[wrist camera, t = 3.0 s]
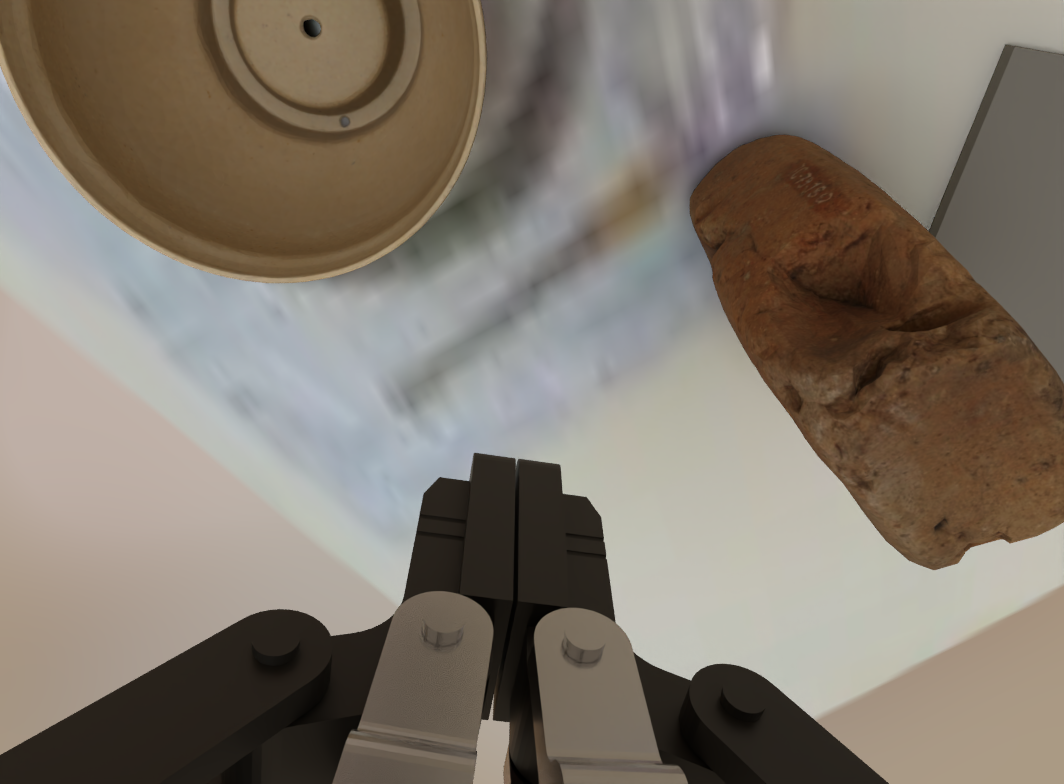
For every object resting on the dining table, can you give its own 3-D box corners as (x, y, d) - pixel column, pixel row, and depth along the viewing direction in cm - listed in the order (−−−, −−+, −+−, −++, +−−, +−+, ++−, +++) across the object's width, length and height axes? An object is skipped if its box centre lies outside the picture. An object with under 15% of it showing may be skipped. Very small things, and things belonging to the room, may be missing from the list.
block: (894, 268, 41) (1159, 507, 24) (767, 350, 44) (924, 624, 26) (786, 94, 37) (1011, 229, 20) (652, 196, 39) (747, 397, 22)
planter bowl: (137, -259, 31) (-39, -348, 21) (541, -125, 33) (544, -152, 24) (123, 152, 38) (-11, 220, 29) (453, 240, 41) (429, 331, 31)
